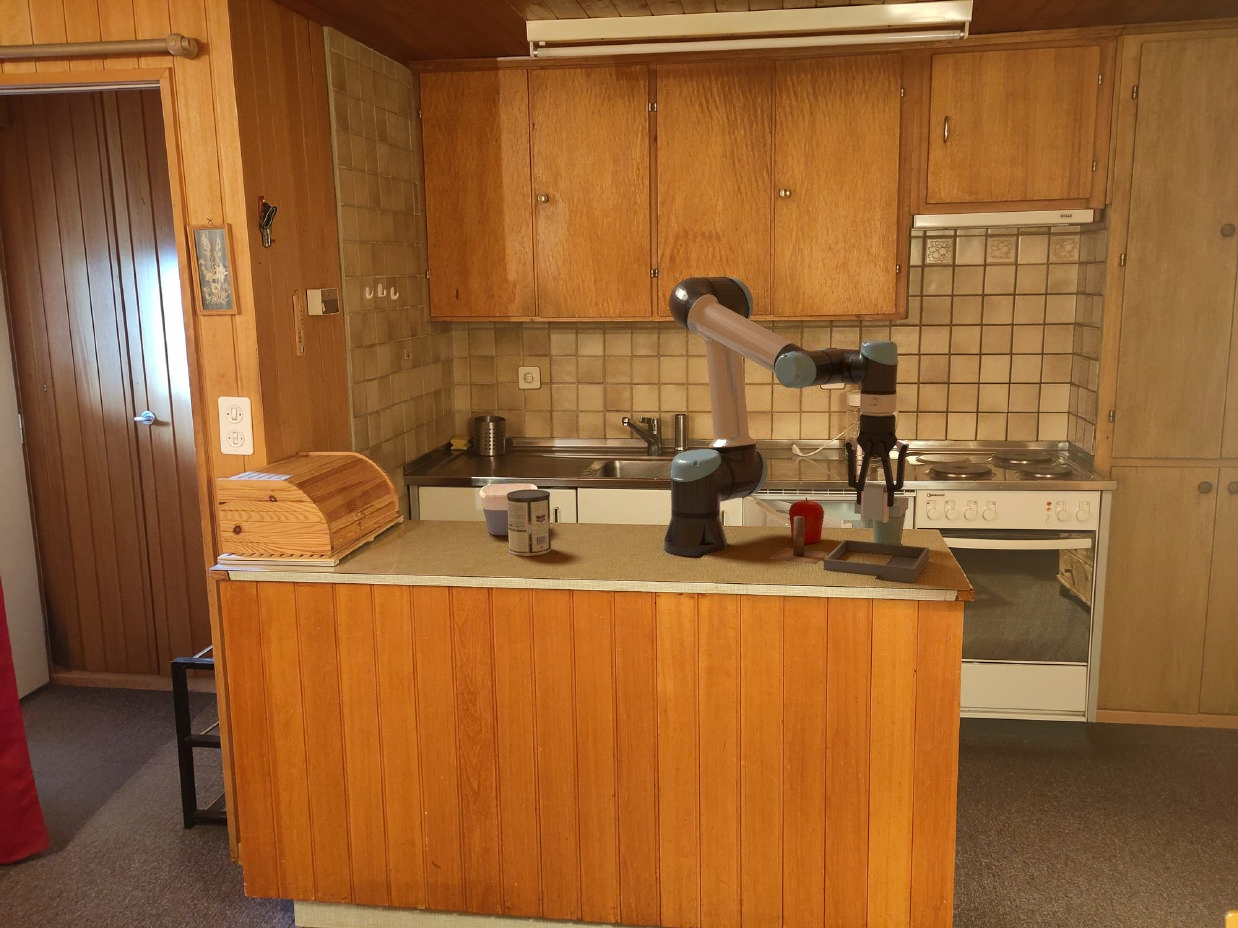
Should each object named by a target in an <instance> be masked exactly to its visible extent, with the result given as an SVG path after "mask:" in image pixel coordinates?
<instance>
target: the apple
mask: <svg viewBox="0 0 1238 928" xmlns="http://www.w3.org/2000/svg"><path fill="white" fill-rule="evenodd" d="M788 515H789V525H790V533H791V534H790V537H791V540H792V541H794V517H795V516H803V517H805V522H804V545H813V544H816V543H818V542H819V541H820V540H821V539H822V530H823V525H824V518H825V510H824V508H823V506H822V505H821V504H820V503H819V502H816V501H812V500H808V497H807V496H805V500H799V501H796V502H794V503H791V504H790V507H789V509H788Z"/></svg>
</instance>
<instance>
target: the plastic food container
mask: <svg viewBox="0 0 1238 928" xmlns="http://www.w3.org/2000/svg"><path fill="white" fill-rule="evenodd" d="M528 489H536V490H539V489H538V486H536V485H535V484H533V483H502V484H501V483H499V484H486V485H484V486H483V487H482V488H480V491H479V498H480V503H481V507H482V509H483V515H484V518H485V523H486V527H487V531H488V533H489V534H490V535H492V536H505V537H506V536H507V537H509V531H508V504H507V493H509V492H512V491H517V490H528Z"/></svg>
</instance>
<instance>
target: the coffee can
mask: <svg viewBox="0 0 1238 928" xmlns="http://www.w3.org/2000/svg"><path fill="white" fill-rule="evenodd" d="M550 498H551V492H550V491H548V490H545V489H544V490H543V489H538V490H536V489H528V490H517V491H512V492H509V493H507V504H508V531H509V535H508V552H509V554H511V555H515V556H519V557H520V556H522V557H534V556H535V557H536V556H541V555H546V554H548V553H550V552H551V551H552V543H551V541H552V539H551V534H552V533H551V505H550V504H551V503H550V501H551V500H550Z"/></svg>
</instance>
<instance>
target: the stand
mask: <svg viewBox="0 0 1238 928" xmlns="http://www.w3.org/2000/svg"><path fill="white" fill-rule="evenodd" d="M804 522H805V517H803V516H795V517H794V541H793V540H792V541H793V545H792V546H793V548H791V547H781V548H780V549H778V551H776V552H775V553H774V554H772V555H771V556H770V557H769V558H768V560H775V561H776V560H777V561H787V562H795V563H804V564H813V565H816V564H818V562H819V561H821V559H823V558H825V556H826V555H827V554H828V551H819V550H810V549H809V550H808V549H805V544H804Z"/></svg>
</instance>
